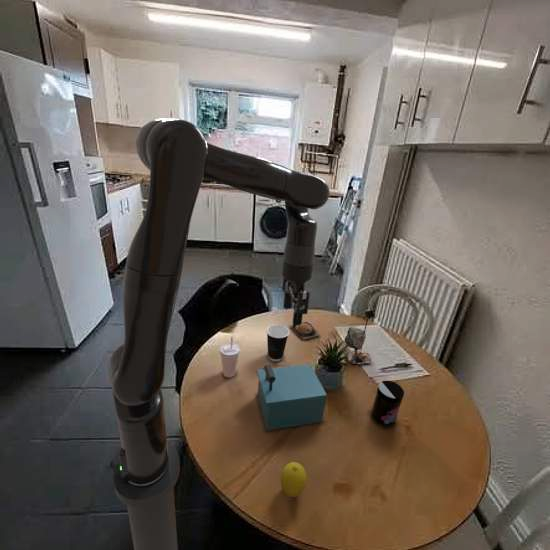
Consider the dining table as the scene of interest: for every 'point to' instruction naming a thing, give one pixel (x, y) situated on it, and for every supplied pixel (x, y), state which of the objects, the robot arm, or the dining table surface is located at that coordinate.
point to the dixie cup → (276, 341)
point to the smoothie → (229, 358)
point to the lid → (289, 384)
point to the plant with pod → (358, 342)
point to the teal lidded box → (291, 412)
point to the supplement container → (387, 402)
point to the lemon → (293, 479)
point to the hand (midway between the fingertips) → (291, 316)
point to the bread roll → (305, 331)
